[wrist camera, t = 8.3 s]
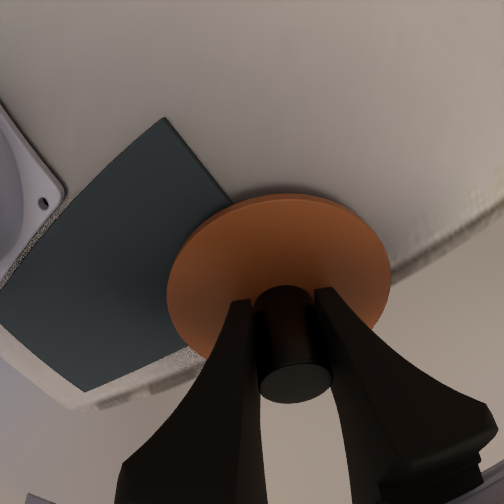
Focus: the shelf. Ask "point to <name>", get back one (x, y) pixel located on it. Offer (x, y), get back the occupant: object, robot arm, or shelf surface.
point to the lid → (278, 283)
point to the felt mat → (112, 264)
